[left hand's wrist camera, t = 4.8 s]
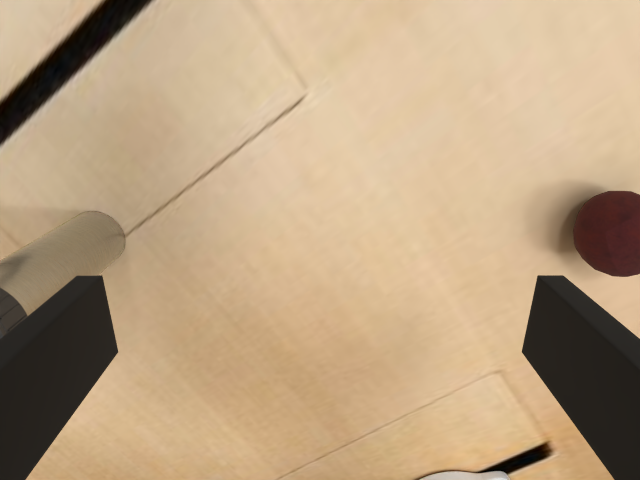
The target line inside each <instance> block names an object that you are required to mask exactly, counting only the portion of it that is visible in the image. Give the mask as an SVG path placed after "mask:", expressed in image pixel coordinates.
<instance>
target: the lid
mask: <svg viewBox="0 0 640 480" xmlns="http://www.w3.org/2000/svg"><path fill="white" fill-rule="evenodd" d="M27 316H28V315H27V313H26V311H25V310H24V308H23V307H22V306H21V304H20V303H19V302H18V301H17V300H16V299H15V298H14V297H13V296H12V295H10V294H9V293H8V292H6V291H5V290H3V289H2V288H0V339H1V338H2V337H3V336H4V335H6V334H7V333H8V332H9V331H11V330H12V329H13V328H14V327H15V326H17V325H18V324H19V323H20V322H21V321H23V320H24V319H25V318H26V317H27Z"/></svg>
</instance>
